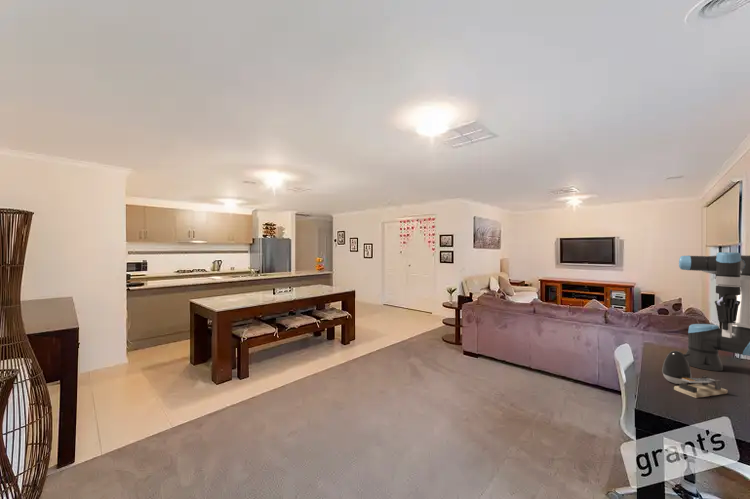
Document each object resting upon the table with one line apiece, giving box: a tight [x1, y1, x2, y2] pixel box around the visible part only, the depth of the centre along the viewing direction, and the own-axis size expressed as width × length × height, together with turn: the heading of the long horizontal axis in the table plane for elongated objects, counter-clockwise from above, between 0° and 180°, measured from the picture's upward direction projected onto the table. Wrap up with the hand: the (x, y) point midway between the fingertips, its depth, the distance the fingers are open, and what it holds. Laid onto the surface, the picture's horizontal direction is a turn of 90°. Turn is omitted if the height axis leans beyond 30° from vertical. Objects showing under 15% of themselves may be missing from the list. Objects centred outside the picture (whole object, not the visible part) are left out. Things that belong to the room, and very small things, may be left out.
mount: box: [673, 375, 728, 399], centre depth 141 cm, size 20×8×6 cm, turn 105°
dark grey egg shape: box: [661, 350, 692, 385], centre depth 151 cm, size 10×10×15 cm
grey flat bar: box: [682, 377, 716, 384], centre depth 141 cm, size 17×3×1 cm, turn 105°
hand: (726, 336), depth 144 cm, fingers closed
